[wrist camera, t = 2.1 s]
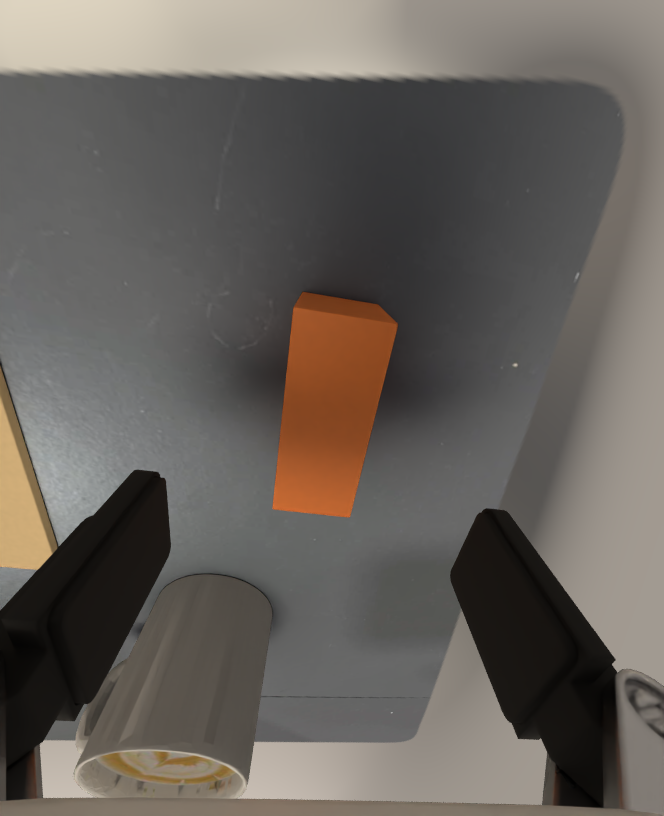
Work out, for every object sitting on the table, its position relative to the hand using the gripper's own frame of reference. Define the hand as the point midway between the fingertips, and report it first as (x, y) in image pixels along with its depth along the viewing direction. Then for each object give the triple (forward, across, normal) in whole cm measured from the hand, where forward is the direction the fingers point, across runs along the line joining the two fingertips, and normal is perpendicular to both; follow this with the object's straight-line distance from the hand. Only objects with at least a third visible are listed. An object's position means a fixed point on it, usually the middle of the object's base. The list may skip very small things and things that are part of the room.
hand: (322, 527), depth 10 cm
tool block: (+10, 0, -1) cm, 10 cm away
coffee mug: (+11, +8, +22) cm, 26 cm away
